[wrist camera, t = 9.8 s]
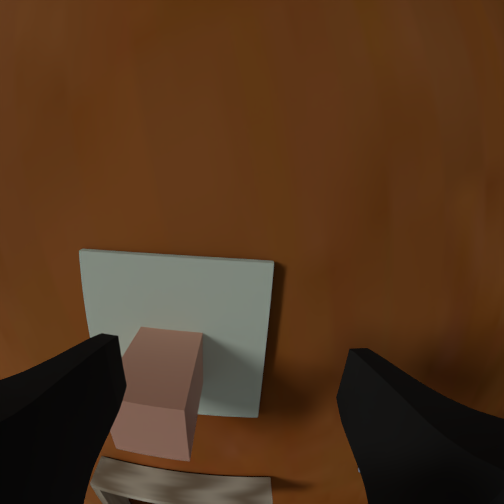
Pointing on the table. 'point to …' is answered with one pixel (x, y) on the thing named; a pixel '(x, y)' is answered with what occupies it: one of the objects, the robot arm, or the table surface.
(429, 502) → the robot arm
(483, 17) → the table surface
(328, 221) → the table surface
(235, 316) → the mat
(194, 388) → the terracotta block
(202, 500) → the slot housing
